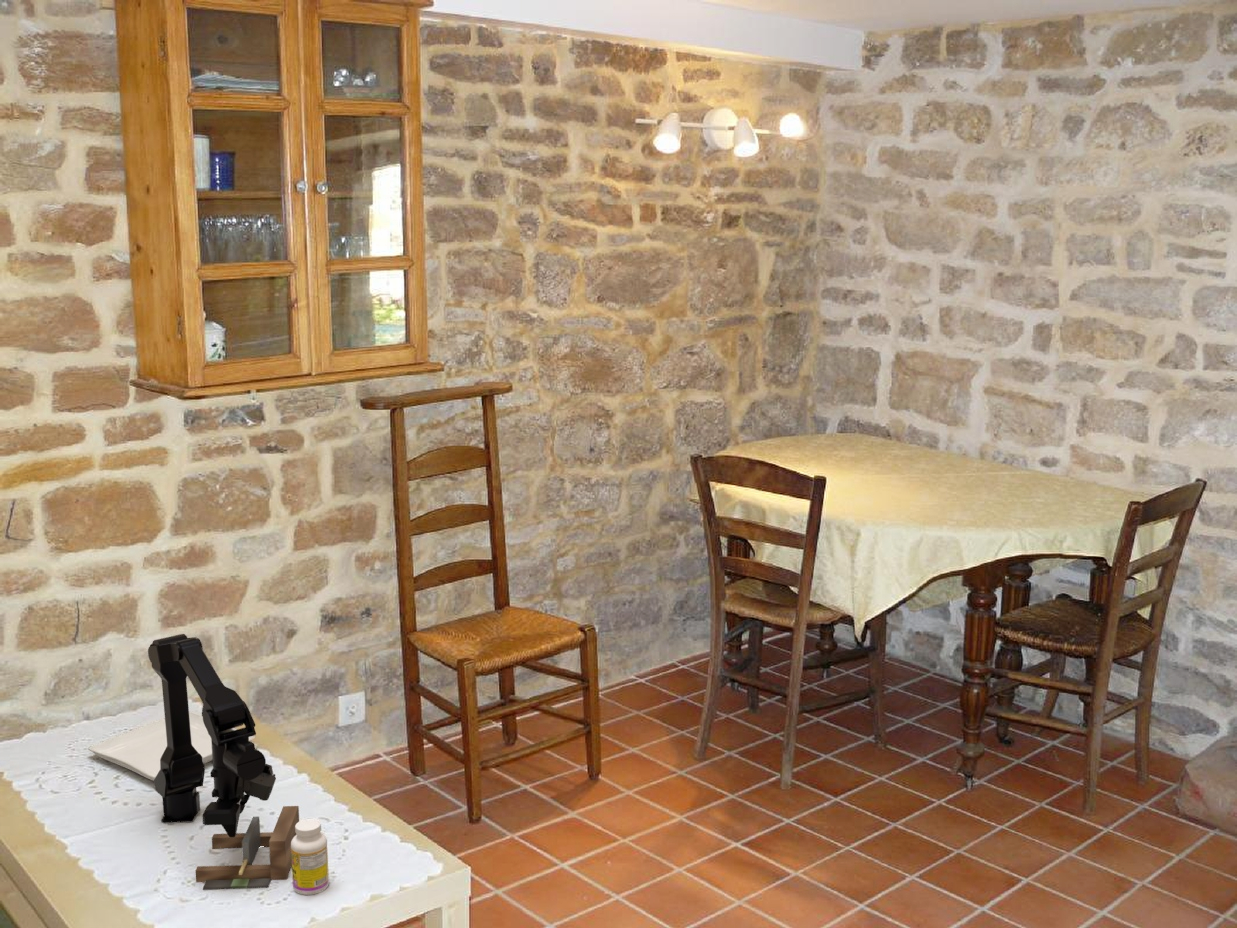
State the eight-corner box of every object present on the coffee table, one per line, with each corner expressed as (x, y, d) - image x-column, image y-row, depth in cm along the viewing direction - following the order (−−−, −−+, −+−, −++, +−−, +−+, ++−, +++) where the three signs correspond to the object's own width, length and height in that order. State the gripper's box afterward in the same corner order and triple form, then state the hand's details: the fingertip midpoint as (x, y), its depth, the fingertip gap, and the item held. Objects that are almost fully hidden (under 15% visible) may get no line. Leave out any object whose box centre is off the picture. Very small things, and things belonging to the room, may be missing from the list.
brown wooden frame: (192, 890, 232) (189, 851, 230) (214, 844, 249) (212, 808, 247) (284, 887, 233) (282, 848, 232) (300, 842, 250) (298, 805, 248)
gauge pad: (237, 883, 232) (236, 854, 231) (254, 844, 247) (253, 816, 246) (244, 883, 233) (242, 854, 231) (260, 844, 247) (259, 816, 246)
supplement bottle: (296, 878, 237) (293, 816, 234) (331, 876, 237) (328, 815, 235) (290, 896, 230) (286, 833, 227) (326, 895, 231) (323, 832, 228)
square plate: (187, 722, 309) (186, 708, 308) (258, 750, 293) (257, 735, 292) (87, 760, 287) (85, 744, 286) (157, 792, 272) (156, 776, 271)
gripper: (260, 782, 229) (264, 859, 232) (280, 740, 248) (283, 812, 251) (199, 784, 229) (204, 861, 232) (223, 741, 247) (227, 813, 250)
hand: (232, 836), depth 241 cm, fingers closed
